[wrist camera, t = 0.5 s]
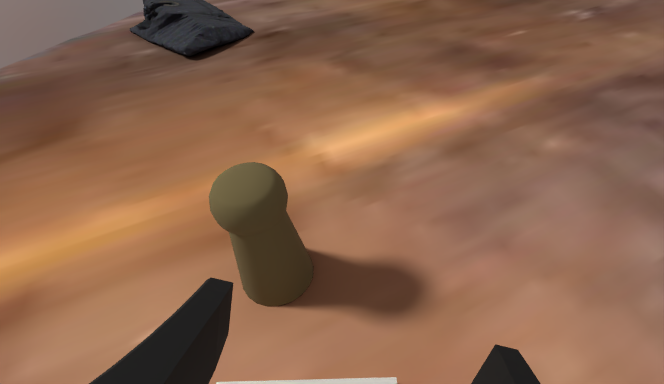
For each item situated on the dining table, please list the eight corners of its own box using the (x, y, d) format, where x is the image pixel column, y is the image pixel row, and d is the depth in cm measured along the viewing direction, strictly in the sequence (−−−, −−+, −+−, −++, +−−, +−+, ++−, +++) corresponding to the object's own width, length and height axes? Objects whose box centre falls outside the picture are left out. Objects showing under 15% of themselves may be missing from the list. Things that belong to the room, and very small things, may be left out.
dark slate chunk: (177, 73, 62) (164, 43, 59) (128, 32, 75) (115, 6, 72) (261, 34, 68) (254, 5, 64) (202, 3, 81) (193, -23, 77)
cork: (310, 238, 37) (285, 142, 29) (317, 299, 32) (290, 205, 24) (243, 250, 36) (200, 157, 29) (241, 312, 32) (190, 223, 24)
